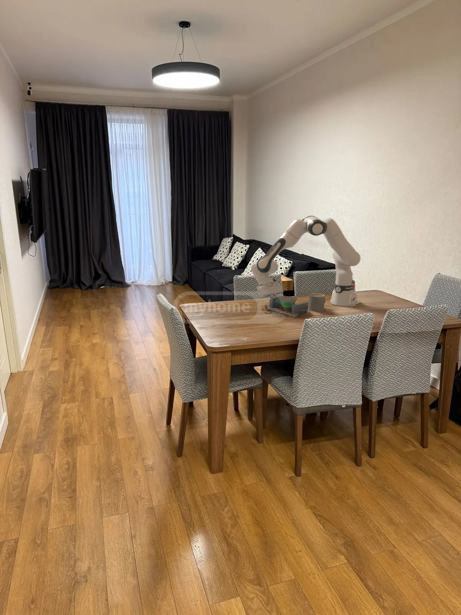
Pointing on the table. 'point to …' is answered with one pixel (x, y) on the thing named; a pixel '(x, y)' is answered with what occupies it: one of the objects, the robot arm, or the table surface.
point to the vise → (294, 309)
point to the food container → (287, 303)
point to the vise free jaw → (275, 302)
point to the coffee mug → (316, 302)
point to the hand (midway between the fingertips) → (276, 300)
